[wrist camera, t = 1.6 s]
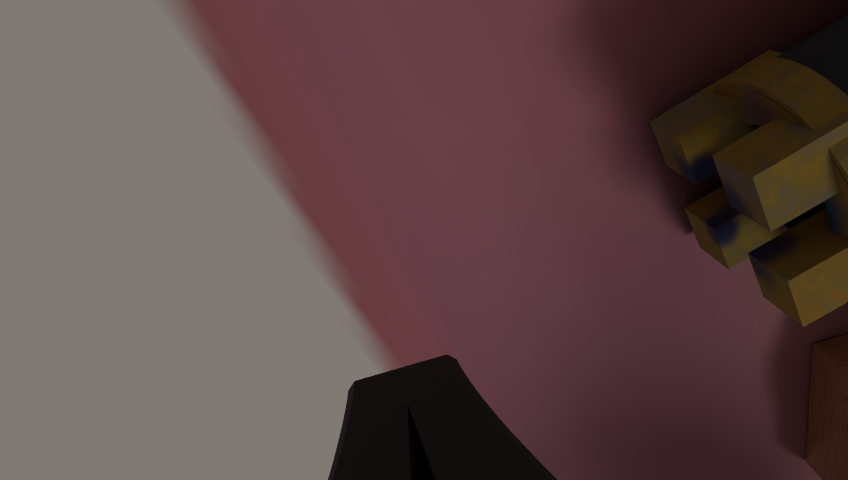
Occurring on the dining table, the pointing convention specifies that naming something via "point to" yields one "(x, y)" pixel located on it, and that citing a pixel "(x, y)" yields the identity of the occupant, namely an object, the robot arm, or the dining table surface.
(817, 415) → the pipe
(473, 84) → the dining table surface
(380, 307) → the dining table surface
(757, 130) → the pipe connector
